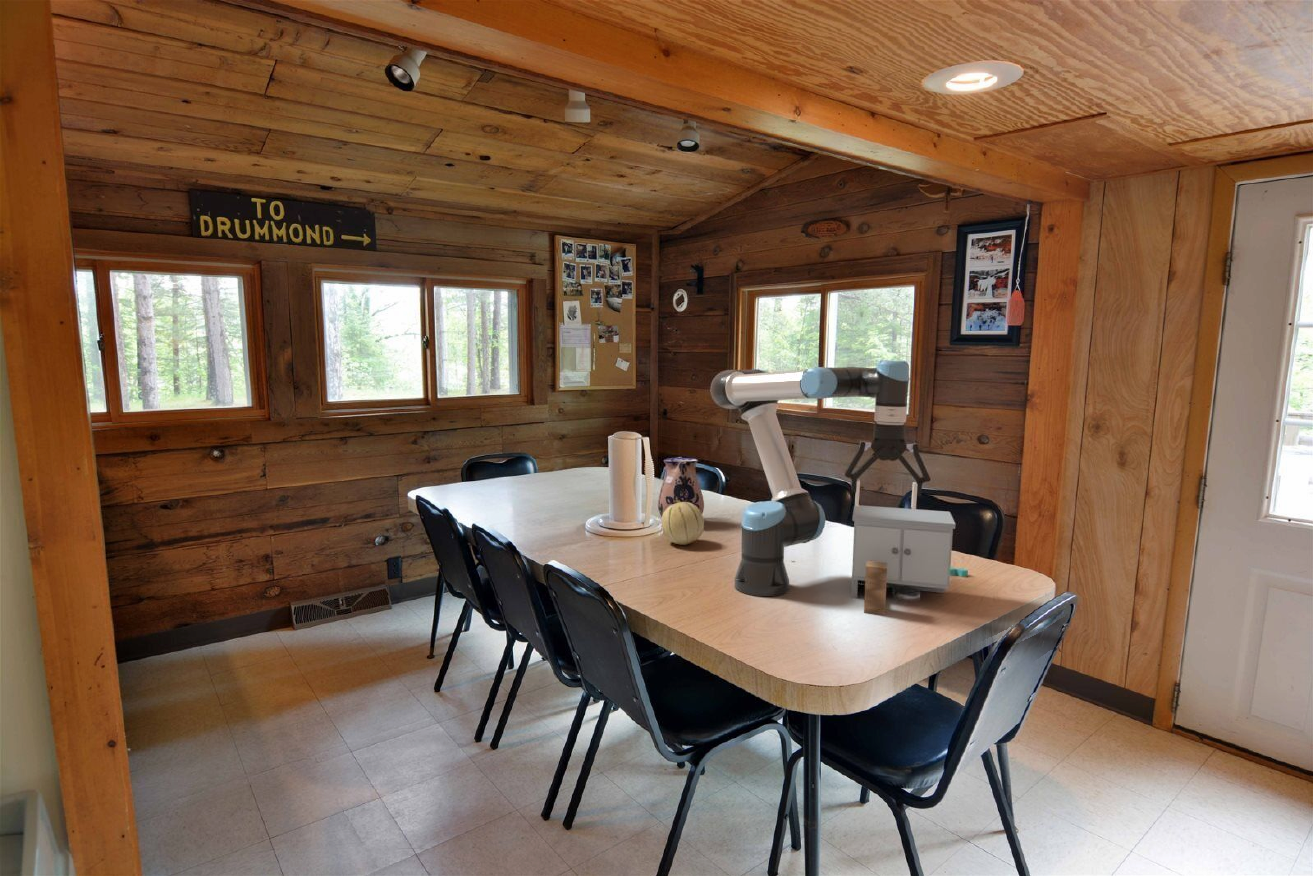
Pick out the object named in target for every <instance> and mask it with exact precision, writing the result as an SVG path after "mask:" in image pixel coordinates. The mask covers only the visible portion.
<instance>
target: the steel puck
mask: <svg viewBox="0 0 1313 876" xmlns="http://www.w3.org/2000/svg"><path fill="white" fill-rule="evenodd" d="M891 593H892V594H891V596H892V598H893V599H895V600H897V601H901V602H907V603H916V602H919V601H920V600H921V591H920V590H916V589H913V588H909V587H895V588H892V591H891Z"/></svg>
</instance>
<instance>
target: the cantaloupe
mask: <svg viewBox="0 0 1313 876" xmlns="http://www.w3.org/2000/svg"><path fill="white" fill-rule="evenodd" d="M674 502H676V503H675V504H672V505H671V506H669V507H668V508H667V509H666V510H665V511H664V513H663V515H662V517H661V522H660V523H661V529H662V532H663V535H664V536H665V538H667V540H668V541H669V542H671V543H674V544H677V545H682V546H687V545H689V544H691V543H693V542H695V541H697V540H698V539H699V538H700V537H701V536H702V535H703V533H704V530H705V520H704V516H703V513H702V514H701V512H700V510H699V509H698V508H697V507H696V506H695V505H693V504H692V503H688V502H679V501H677V500H674Z"/></svg>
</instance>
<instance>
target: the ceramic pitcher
mask: <svg viewBox="0 0 1313 876" xmlns="http://www.w3.org/2000/svg"><path fill="white" fill-rule="evenodd" d="M698 461H699V459H696V458H688V457H682V456H679V457H671V458H670V457H669V458H666V459H664V460H663V462H664V464H665V469H666V470H665V475H664V477H663V481H662V483H661V487H660V491H659V494H658V501H657V506H658V507H657V508H658V509H657V510H658V512H659V515H660V517H661V518H662V515H663V513H664V511H665V510H666V509H667V508H668V507H669V506H671V505H672V504H675V503H676V502H674V500H677V501H679V502H688V503H692V504H693V505H695V506H696V507H697V508H698V509H699V510H700V512H701V514H702V515H703V513H704V509H705V501H704V495H703V493H702V489H701V486H700V482H699V478H698V476H697V472H696V466H697V464H698Z"/></svg>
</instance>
